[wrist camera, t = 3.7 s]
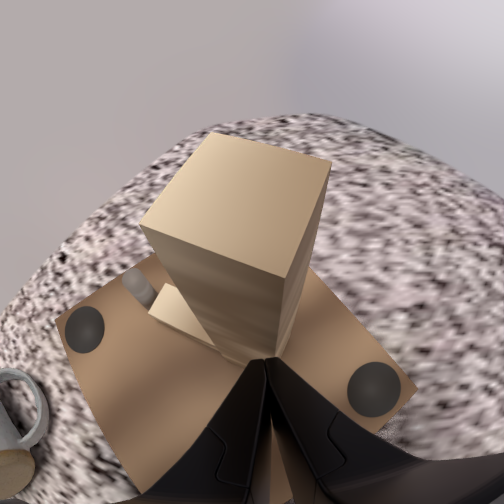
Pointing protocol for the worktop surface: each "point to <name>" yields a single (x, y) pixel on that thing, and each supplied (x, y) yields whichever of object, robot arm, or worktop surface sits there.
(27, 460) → the ceramic mug
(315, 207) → the hinged leg
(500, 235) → the worktop surface
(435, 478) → the robot arm
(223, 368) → the stool seat
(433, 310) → the worktop surface
